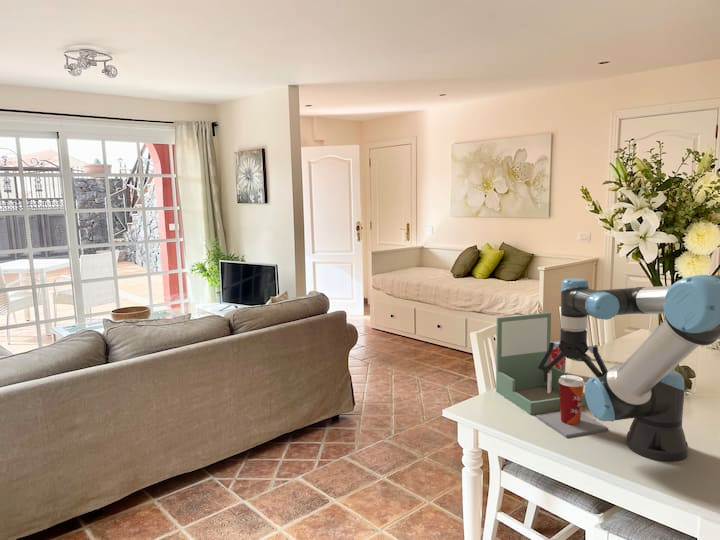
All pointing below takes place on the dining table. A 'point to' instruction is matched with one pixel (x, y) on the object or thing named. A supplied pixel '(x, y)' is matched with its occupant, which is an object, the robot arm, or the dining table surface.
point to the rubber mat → (584, 427)
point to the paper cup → (571, 398)
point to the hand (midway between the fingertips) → (572, 395)
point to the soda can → (562, 362)
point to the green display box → (525, 360)
